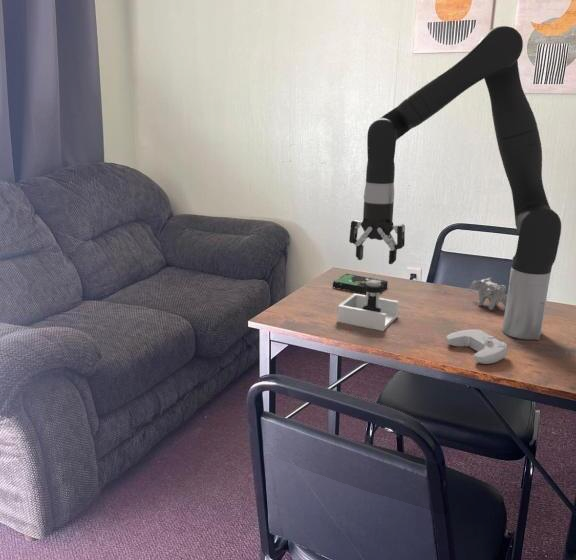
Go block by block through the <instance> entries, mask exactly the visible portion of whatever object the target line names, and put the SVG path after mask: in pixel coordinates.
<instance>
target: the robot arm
mask: <svg viewBox="0 0 576 560" xmlns="http://www.w3.org/2000/svg"><path fill="white" fill-rule="evenodd" d="M523 46H524V42H523V37H522V35H521V33H520V32H519V31H518V30H517V29H516V28H514V27H511V26H507V25H502V26H496V27H495V28H492V29H491V30H489V31H488V32H486V33H485V34H484V35H483V36H482V37H481V39H480V40H479V41H478V44H477V45H475V47H474V48H473V49H472V50H471V51H470V52H468V53H467V54H466V55H465V56H464V57H463V58H461V59H460V60H459V61H458V62H457V63H455V64H454V65H452V66H451V67H450V68H448V69H447V70H446V71H444V72H442V73H440V74H439V75H437V76H435V78H433V79H431V80H430V81H428V82H426V83H425V84H424V85H422V86H421V87H419V89H417V90H415V91H414V92H412V93H411V94H410V95H408V96H407V97H406V98H405V99H403V100H402V101H401V102H400V103H399V104H398V105H397V106H396V107H394V108H392V109H391V110H390V111H388V112H387V113H385V114H384V115H382V116H381V117H379V118H378V119H376V120H374V121H373V122H372V123H371V124H370V125H369V127H368V130H367V135H366V137H367V139H366V140H367V143H366V145H367V153H366V154H367V163H366V171H365V172H366V173H365V174H366V175H365V186H364V192H363V193H364V194H363V213H362V214H363V215H362V218H363V219H362V221H361V220H358V219H354V220H352V221H351V222H350V230H349V240H348V241H349V243H350V244H353V245H354V246H355V257H356V258H357V260H358V261H362V260H363V259H364V245H363V244H364V242H365V241H367V240H368V239H370V240H377V241H382V240H383V241H384V243H385V244H386V245H387V246H388V248H389V250H388V251H389V254H388V264H389V265H393V264H394V263H395V262H396V260H397V252H398V250H400V249H402V248H404V247H405V244H406V243H405V237H406V236H405V233H406V231H405V230H406V229H405V228H406V226H405V224H404V223H401V224H394V222H393V220H394V219H393V217H394V205H395V203H394V202H395V174H396V173H395V170H396V169H395V167H396V166H395V155H396V147H397V146H396V145H397V140H398V139H400V138H401V137H402V136H404V135H405V134H407V133H408V132H409V131H410V130H411V129H414V128H416V127H417V126H419V125H421V124H423V123H424V122H425V121H427V120H429V119H430V118H431V117H433V116H434V115H435V114H437V113H438V112H440V111H441V110H442V109H443V108H445V107H446V106H447V105H448V104H450V103H451V102H452V101H454V100H455V99H456V98H457V97H459V96H460V95H461V94H463V93H464V92H465V91H467V90H468V89H470V88H471V87H473V86H474V85H476V84H477V83H479V82H480V81H482V80H484V82H485V85H486V88H487V91H488V95H489V100H490V105H491V114H492V120H493V128H494V133H495V138H496V143H497V147H498V152H499V154H500V158H501V162H502V166H503V168H504V172H505V175H506V177H507V181H508V184H509V186H510V189H511V196H512V204H513V212H514V223H515V228H516V231H517V233H518V238H517V239H518V240H517V244H516V245H517V246H516V251H515V254H514V256H513V257H512V260H511V267H510V274H509V280H508V281H509V282H508V285H507V286H508V289H507V294H506V295H507V300H506V306H504V308H505V309H504V314H503V315H504V316H503V321H502V329H501V330H502V332H503V333H504V334H505V335H506V336H508V337H512V338H516V339H520V340H537V341H540V338H541V334H542V331H543V329H542V328H543V323H544V319H545V318H544V317H545V313H546V312H545V311H546V306H547V301H548V299H547V297H548V292H549V285H550V279H551V275H552V274H551V272H552V267H553V265H554V264H555V261H556V259H557V255H558V249H559V245H560V240H561V234H562V220H561V218H560V216H559V214H558V213H557V212H556V211H554V210H553V209H552V208H551V207H550V204H549V201H548V198H547V196H546V195H547V194H546V192H545V188H544V183H543V175H542V174H543V172H542V171H543V170H542V169H543V151H542V149H543V147H542V143H541V142H542V140H541V137H540V133H539V131H540V130H539V128H538V124H537V120H536V118H535V114H534V112H533V109H532V107H531V105H530V103H529V100H528V98H527V97H526V94H525V92H524V89H523V87H522V83H521V78H520V77H521V76H520V71H519V62H518V60H519V58H520V57H521V54H522V51H523V49H524V47H523ZM360 228H362V229H363V233H362V234H361V235H360V237H359V238H358V233H359V232H358V231H359V229H360ZM393 230H394V231H395V232H394V233H395V234H396V241H395V237H393V235H392V233H391V232H392V231H393Z"/></svg>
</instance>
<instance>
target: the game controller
mask: <svg viewBox="0 0 576 560" xmlns="http://www.w3.org/2000/svg"><path fill="white" fill-rule="evenodd" d="M445 340H446V343H448V344H449V345H451V346H454V347H463V348H464V347H467V348H468V347H469V348H471V349H472V350H475V351H476V353H474V354H473V360H474V361H476V362H477V363H479V364H483V365H490V364H495V363H498V362H500V361H501V360H503V359H504V358H505V357H506V356H507V355H508V351H509V350H508V345H507V343H506V342H504V341H500V340H498V339H496V338H494V336H493V335H490V334H488V333H486V332H485V331H484V330H481V329H466V330H464V329H463V330H458V331H455V332H454V331H453V332H452V333H448V335H446V337H445Z"/></svg>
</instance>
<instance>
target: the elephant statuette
mask: <svg viewBox="0 0 576 560" xmlns="http://www.w3.org/2000/svg"><path fill="white" fill-rule="evenodd" d="M472 289H473V290H475V291H476V290H477V291H478V301H477V306H479V307H482V306H483V305H484V303H485V302H486V300H487V299H488V302H489V305H488V310H489V311H493V310H494V308H495V306H496V305H498V304H499V303H502V304H503V306H504V307H506V300H507V294H506V290H508V289H507V286H506V285H504V284H501V285H500V284H498V283H496V282H493V281H492V277H488V278H483V279H481V280H480V279H479V280H473V281H472V283H471V285H470V286H469V290H472Z"/></svg>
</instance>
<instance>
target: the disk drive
mask: <svg viewBox="0 0 576 560" xmlns="http://www.w3.org/2000/svg"><path fill="white" fill-rule="evenodd" d="M370 279H375V280H379V281H380V282H381V284H383V285H384V287H383V289H382V292H383V291H385V290H386V289H388V281H387V280H384V279H378V278H373V277H366V276H361V275H355V274H350V273H345V274H343V275H342V276H340V277H339V278H337V279H335V280H333V282H332V288H333V287H335V288H334V289H337V288H340V289H339V290H342V289H345V290H344V291H347V290H350V291H349V292H352V291H355V292H354V293H357V292H360V293H359V294H362V293H365V294H364V295H366V291H365V290H364V286H363V284H364V283H366V282H367V280H370ZM384 289H385V290H384ZM369 295H370V293H369ZM376 295H377V294H376Z"/></svg>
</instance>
